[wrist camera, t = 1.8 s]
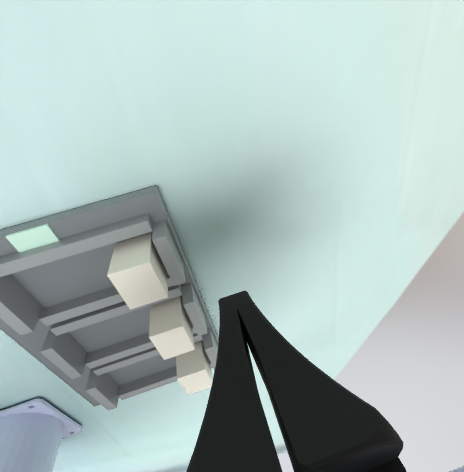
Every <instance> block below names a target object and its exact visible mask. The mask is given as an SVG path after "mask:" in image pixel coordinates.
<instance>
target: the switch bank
mask: <svg viewBox="0 0 464 472" xmlns="http://www.w3.org/2000/svg"><path fill="white" fill-rule="evenodd" d="M148 233H152V241H153V243H154V245H155V247H156V249H157V251H158V253H159V255H160V258H161V260H162V262H163V264H164V266H165V268H166V270H167V285H168V298H165V299H162V300H159V301H156V302H152V303H149V304H146V305H143V306H140V307H137V308H134V309H131V310H130V309H129V307H128V306H127V304H126V303H125V301H124V300H123V298H122V297H121V295H120V294H119V292H118V291H117V289H116V288H115V286H114V285H113V283H112V282H111V280H110V279H109V277H108V276H107V274H108V270H109V266H110V262H111V258H112V254H113V250H114V247H115V243H118V242H122V241H125V240H128V239H132V238H135V237H138V236H142V235H145V234H148ZM178 296H181V297H182V299H183V306H184V308H185V310H186V312H187V314H188V316H189V318H190V320H191V323H192V330H193V338H194V343H195V342H198V341H201V340H202V342H203V344H204V349H205V352H206V354H207V356H208V358H209V361H210V367H211V368H214V370H215V366H216V359H217V351H218V343H219V339H218V336H217V334H216V331H215V329H214V326H213V324H212V321H211V319H210V316H209V314H208V311H207V309H206V306H205V304H204V301H203V299H202V296H201V294H200V291H199V289H198V287H197V284H196V282H195V279H194V277H193V274H192V272H191V269H190V267H189V264H188V262H187V259H186V257H185V254H184V252H183V249H182V247H181V244H180V242H179V239H178V237H177V234H176V232H175V229H174V227H173V225H172V222H171V220H170V217H169V215H168V212H167V210H166V207H165V205H164V202H163V200H162V197H161V195H160V192H159V190H158V187H157V185H155V186H152V187H148V188H145V189H141V190H138V191H134V192H131V193H127V194H124V195H120V196H117V197H113V198H110V199H106V200H103V201H99V202H96V203H92V204H89V205H85V206H82V207H78V208H75V209H71V210H68V211H64V212H61V213H57V214H54V215H50V216H47V217H44V218H40V219H37V220H33V221H30V222H26V223H23V224H19V225H16V226H12V227H9V228H5V229H2V230H0V329H1V330H2V331H3V332H5V333H6V334H7V335H8V336H9V337H11V338H12V339H13V340H14V341H16V342H17V343H18V344H19V345H20V346H22V347H23V348H24V349H25V350H26V351H28V352H29V353H30V354H31V355H33V356H34V357H35V358H36V359H37V360H39V361H40V362H41V363H42V364H44V365H45V366H46V367H47V368H48V369H50V370H51V371H52V372H53V373H54V374H56V375H57V376H58V377H59V378H61V379H62V380H63V381H64V382H65V383H67V384H68V385H69V386H70V387H72V388H73V389H74V390H75V391H76V392H78V393H79V394H80V395H81V396H82V397H84V398H85V399H86V400H87V401H89V402H90V403H91V404H92V405H93V406H97V405H100V404H101V405H102V406H104V407H105V408H106V409H107V410H111V409H114V408H117V403H118V398H121V399H122V400H123V399H126V398H129V397H131V396H134V395H137V394H140V393H143V392H146V391H148V390H151V389H154V388H157V387H160V386H163V385H165V384H168V383H171V382H174V381H177V369H176V356H175V357H172V358H169V359H166V360H164V359H163V357H162V356H161V355H160V353H159V352H158V350H157V349H156V347H155V346H154V344H153V343H152V341H151V340H150V338H149V323H150V305H153V304H156V303H159V302H162V301H166V300H169V299H172V298H175V297H178Z"/></svg>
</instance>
